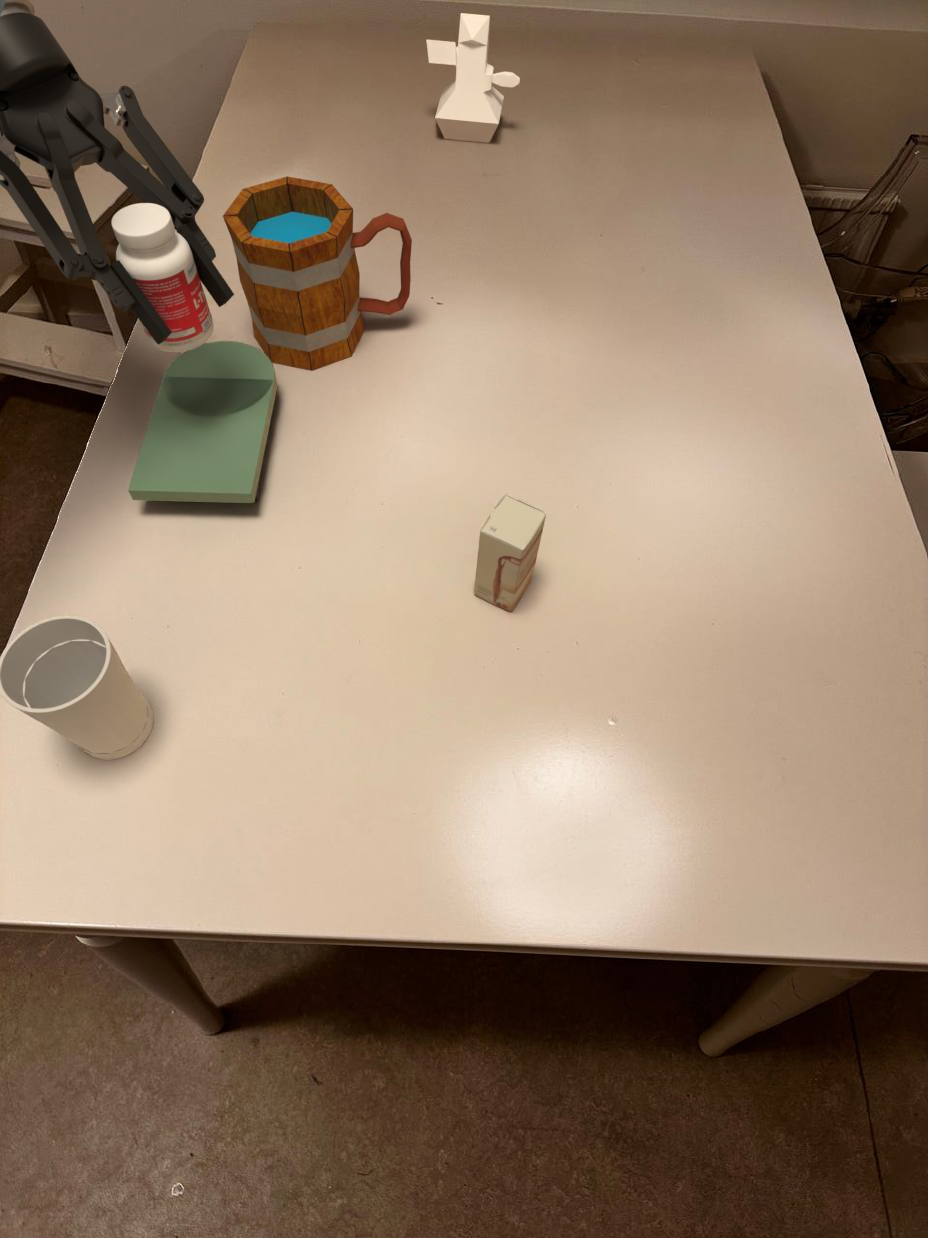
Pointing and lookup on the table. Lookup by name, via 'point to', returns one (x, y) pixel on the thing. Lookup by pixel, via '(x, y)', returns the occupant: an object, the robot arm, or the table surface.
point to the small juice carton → (508, 551)
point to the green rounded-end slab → (208, 427)
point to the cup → (76, 686)
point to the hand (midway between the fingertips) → (196, 318)
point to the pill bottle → (164, 274)
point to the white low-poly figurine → (470, 83)
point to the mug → (306, 269)
